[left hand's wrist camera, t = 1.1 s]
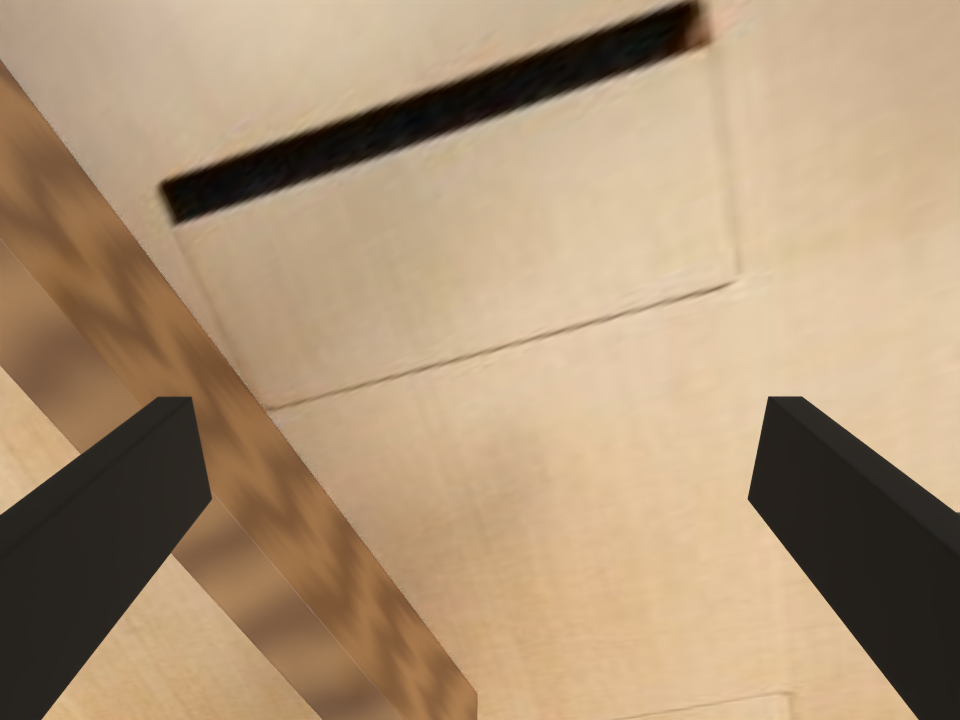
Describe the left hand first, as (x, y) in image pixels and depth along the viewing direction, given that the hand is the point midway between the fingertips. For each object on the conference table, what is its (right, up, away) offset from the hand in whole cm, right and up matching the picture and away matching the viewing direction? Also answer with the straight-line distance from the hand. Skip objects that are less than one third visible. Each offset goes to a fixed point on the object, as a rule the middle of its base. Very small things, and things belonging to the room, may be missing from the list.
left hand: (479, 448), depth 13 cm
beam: (-18, 0, +24) cm, 30 cm away
